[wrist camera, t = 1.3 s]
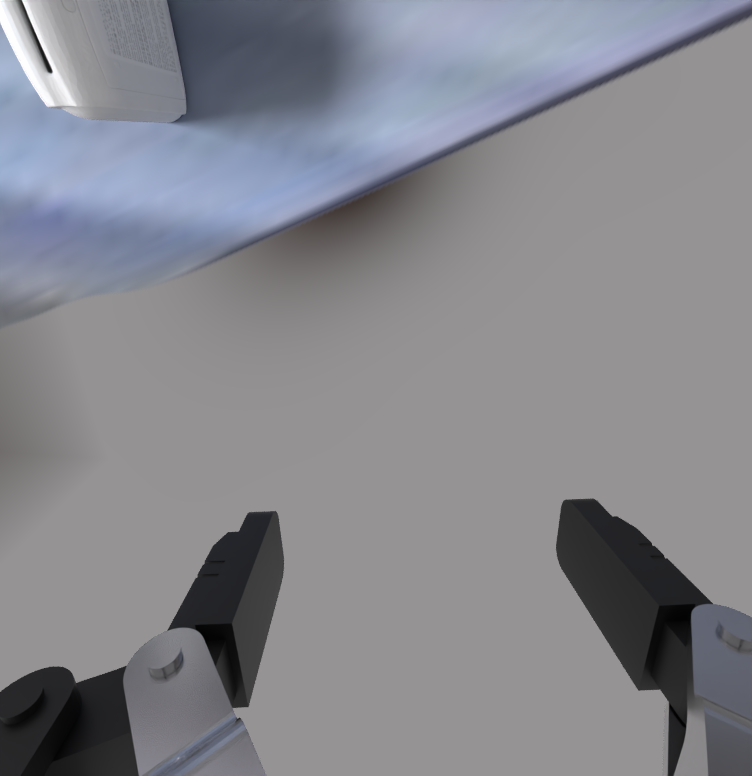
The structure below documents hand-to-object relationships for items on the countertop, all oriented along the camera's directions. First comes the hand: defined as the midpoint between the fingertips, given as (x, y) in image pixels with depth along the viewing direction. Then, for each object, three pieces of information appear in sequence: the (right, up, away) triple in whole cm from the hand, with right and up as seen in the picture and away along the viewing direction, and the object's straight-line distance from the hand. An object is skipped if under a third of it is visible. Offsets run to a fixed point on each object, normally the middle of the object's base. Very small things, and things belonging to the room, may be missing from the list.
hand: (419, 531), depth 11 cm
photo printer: (-17, +28, +15) cm, 36 cm away
